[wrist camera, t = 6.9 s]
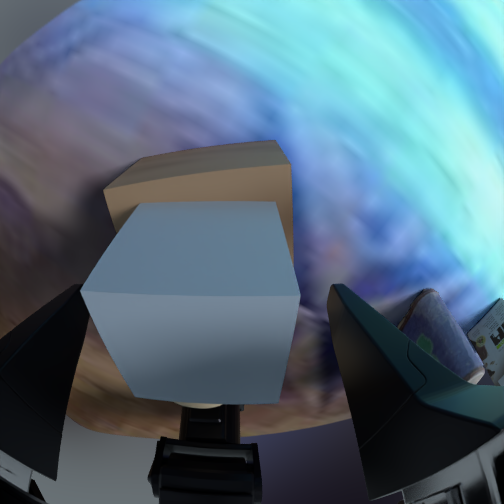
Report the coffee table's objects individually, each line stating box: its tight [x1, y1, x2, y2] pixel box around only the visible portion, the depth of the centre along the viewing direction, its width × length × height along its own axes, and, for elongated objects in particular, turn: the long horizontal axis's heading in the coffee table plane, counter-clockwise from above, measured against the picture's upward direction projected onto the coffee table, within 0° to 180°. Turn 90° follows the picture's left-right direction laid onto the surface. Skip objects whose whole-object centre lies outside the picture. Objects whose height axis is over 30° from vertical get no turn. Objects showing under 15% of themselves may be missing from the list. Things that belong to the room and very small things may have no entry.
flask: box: [397, 289, 485, 384], centre depth 17 cm, size 9×3×11 cm, turn 170°
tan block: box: [103, 140, 293, 264], centre depth 13 cm, size 7×7×5 cm
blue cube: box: [80, 201, 300, 404], centre depth 9 cm, size 5×5×5 cm
